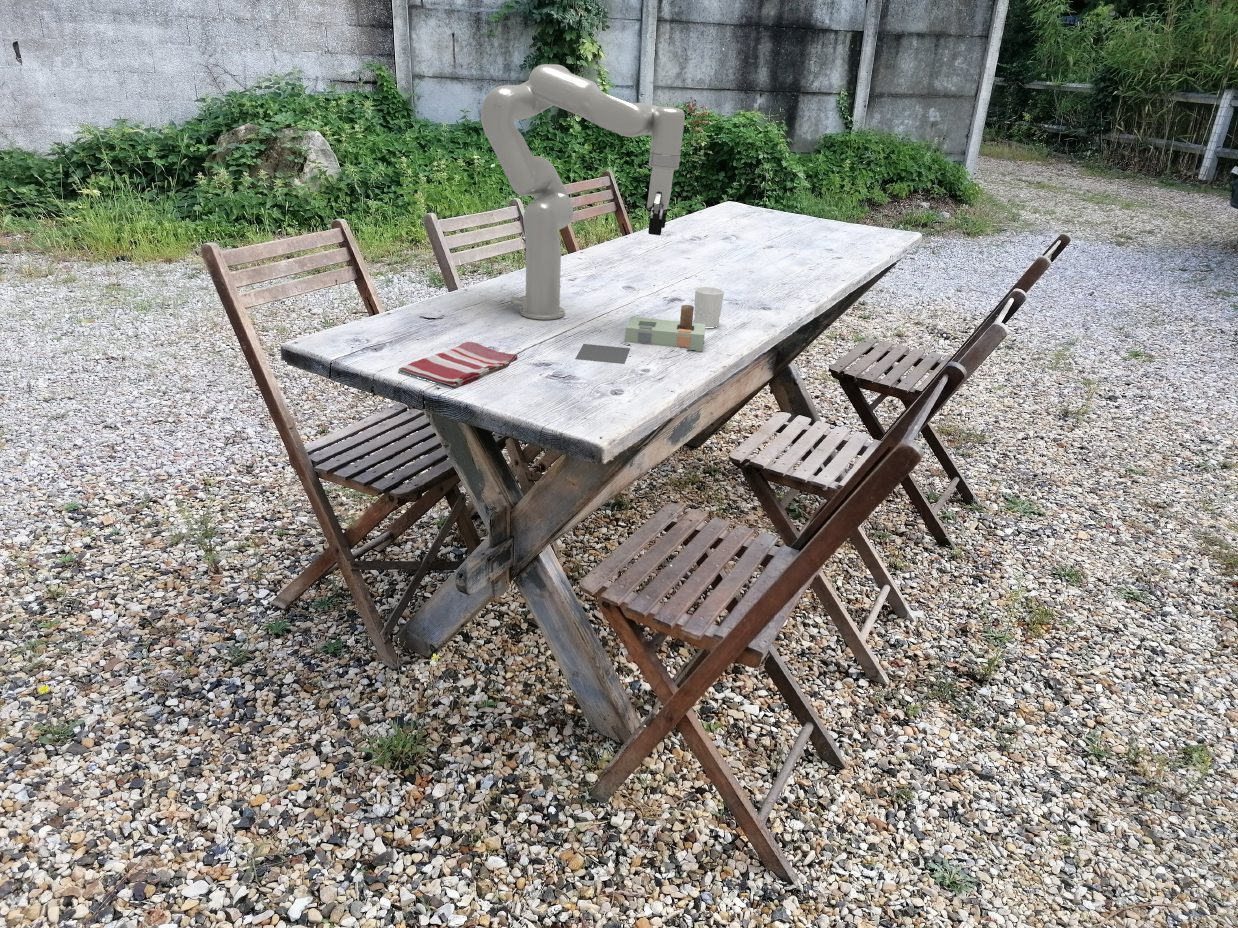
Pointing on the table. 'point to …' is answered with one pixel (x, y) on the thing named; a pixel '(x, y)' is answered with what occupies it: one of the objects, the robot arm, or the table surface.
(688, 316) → the dowel
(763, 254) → the table surface
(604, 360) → the mat
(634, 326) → the socket block
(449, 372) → the dish towel
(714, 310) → the white cup
